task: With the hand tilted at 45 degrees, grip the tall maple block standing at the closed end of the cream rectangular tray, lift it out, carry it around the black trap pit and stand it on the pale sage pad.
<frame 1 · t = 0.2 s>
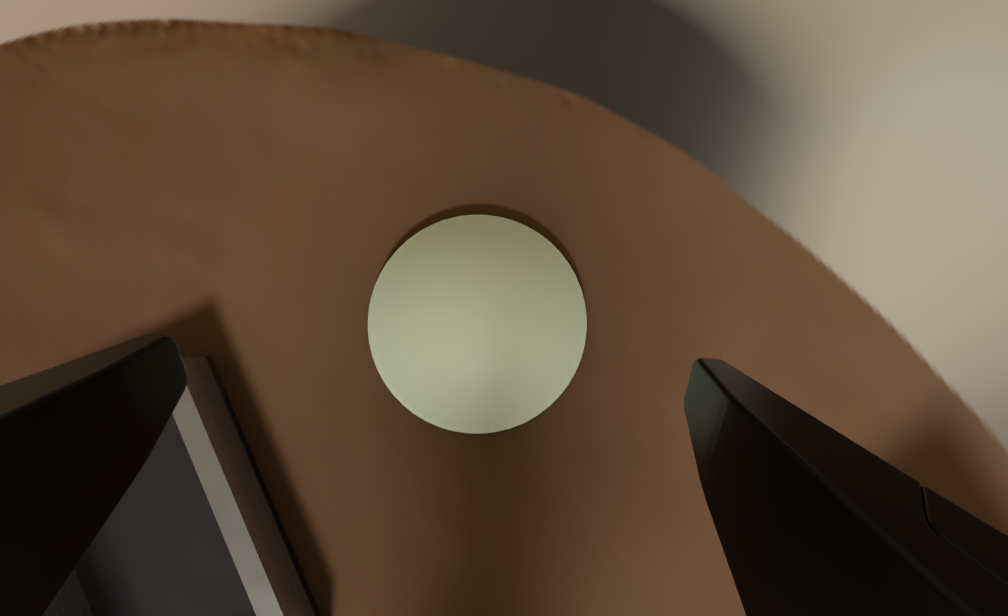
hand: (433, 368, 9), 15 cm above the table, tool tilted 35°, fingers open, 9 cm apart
trap pit: (168, 542, 23), on the table
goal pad: (477, 322, 24), on the table
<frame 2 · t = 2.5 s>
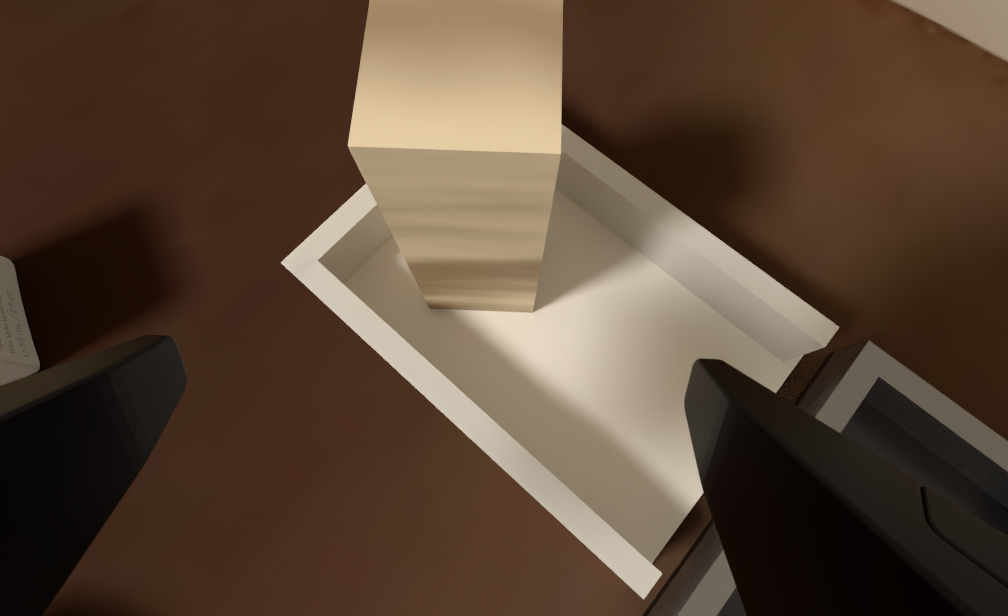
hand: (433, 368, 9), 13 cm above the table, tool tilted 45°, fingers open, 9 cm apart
cream rectangular tray: (551, 323, 23), on the table
trap pit: (847, 569, 20), on the table
maple block: (483, 262, 23), point 1 cm above the table, touching cream rectangular tray
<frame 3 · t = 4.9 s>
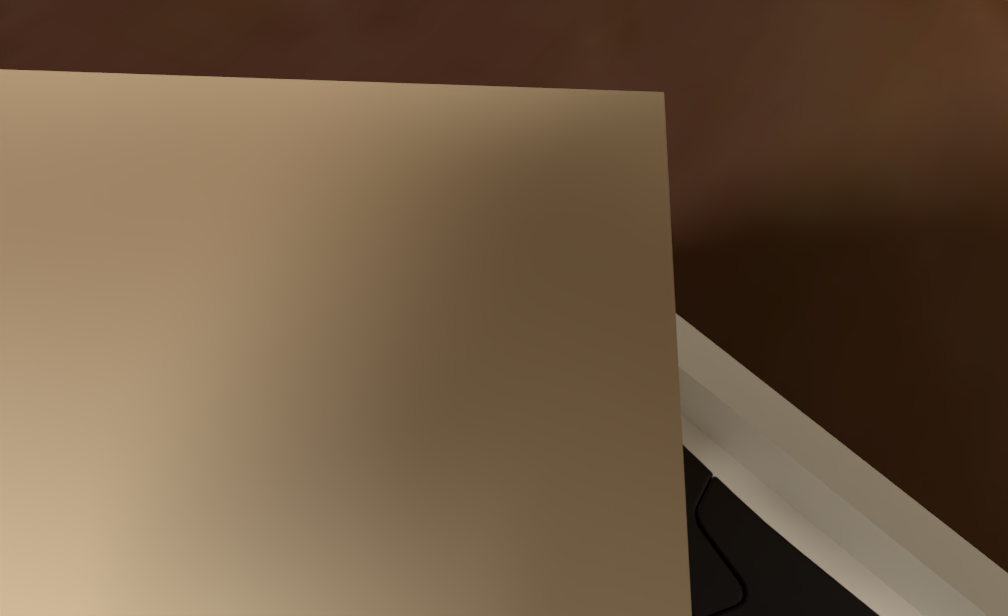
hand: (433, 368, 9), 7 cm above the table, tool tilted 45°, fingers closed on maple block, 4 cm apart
cream rectangular tray: (566, 554, 14), on the table
maple block: (458, 454, 14), point 1 cm above the table, touching gripper, cream rectangular tray
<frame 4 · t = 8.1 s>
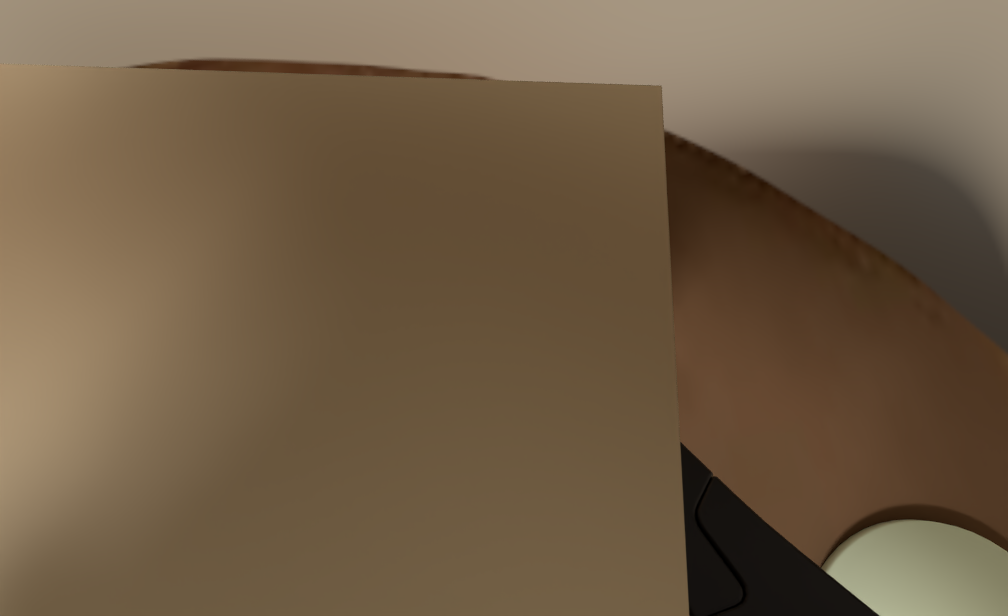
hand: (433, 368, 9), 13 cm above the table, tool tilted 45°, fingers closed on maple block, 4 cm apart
maple block: (458, 452, 14), point 7 cm above the table, touching gripper
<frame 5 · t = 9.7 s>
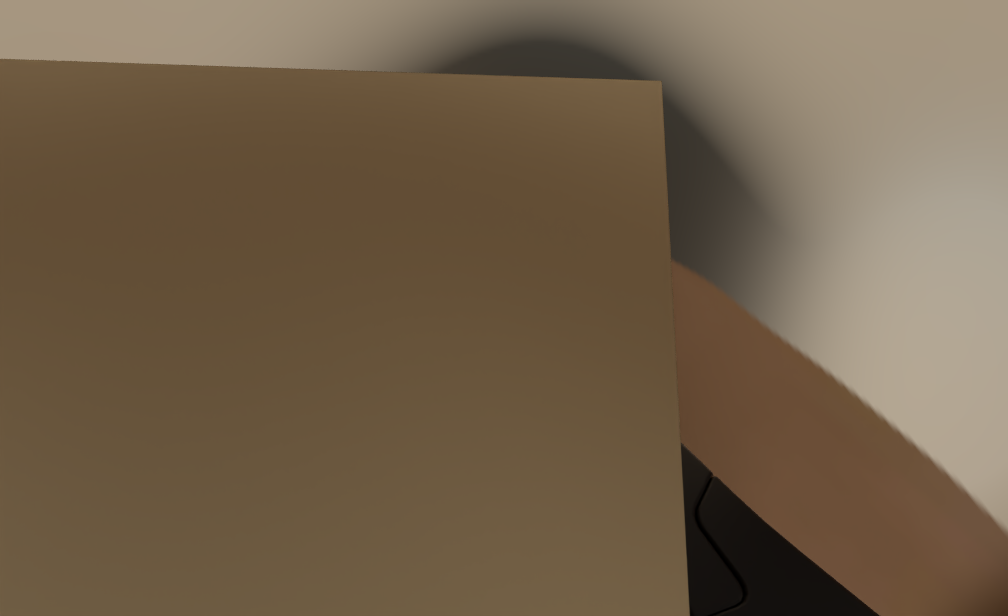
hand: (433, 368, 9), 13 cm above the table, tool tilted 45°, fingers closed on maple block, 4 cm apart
maple block: (458, 450, 14), point 7 cm above the table, touching gripper
when the fingers open (8 cm above the table, at t = 11.2 s): maple block drops 2 cm, resting on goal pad.
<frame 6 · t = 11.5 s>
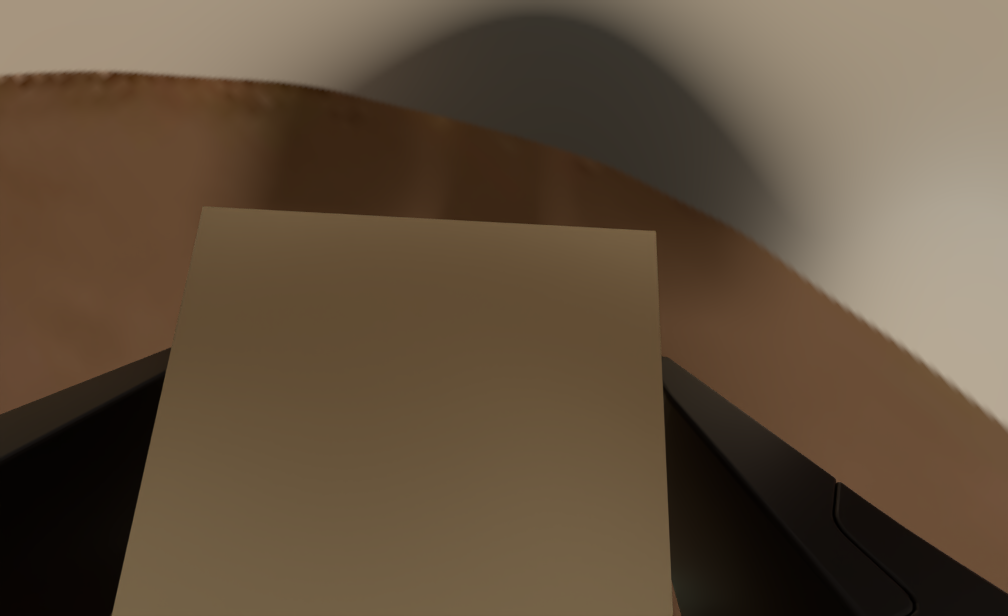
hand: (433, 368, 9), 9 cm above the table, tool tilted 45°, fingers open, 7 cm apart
maple block: (463, 452, 16), point 1 cm above the table, touching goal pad
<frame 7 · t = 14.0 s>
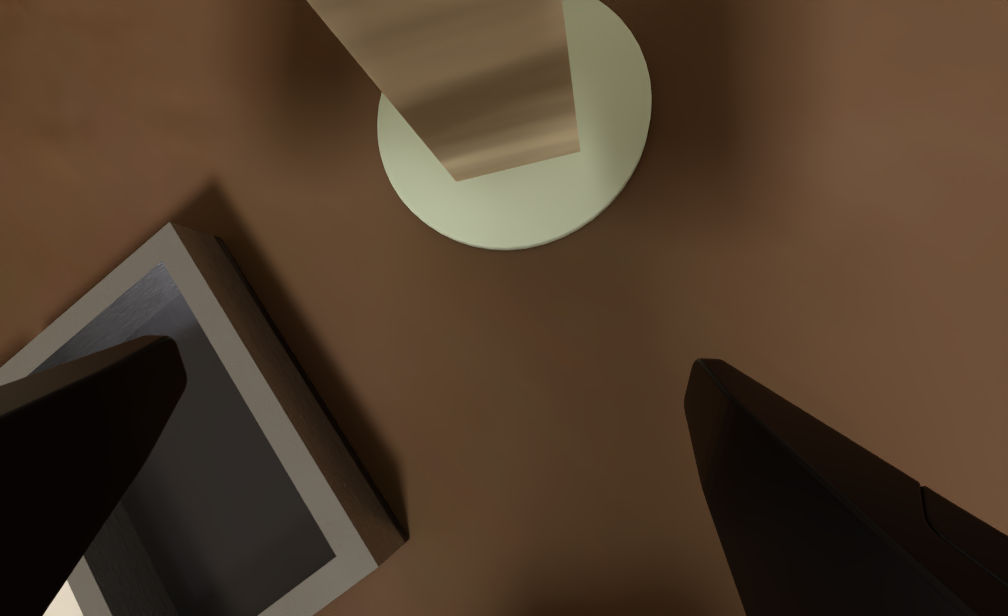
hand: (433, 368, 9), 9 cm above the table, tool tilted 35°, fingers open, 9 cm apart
trap pit: (211, 454, 20), on the table
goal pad: (510, 117, 19), on the table
maple block: (506, 108, 18), point 1 cm above the table, touching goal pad
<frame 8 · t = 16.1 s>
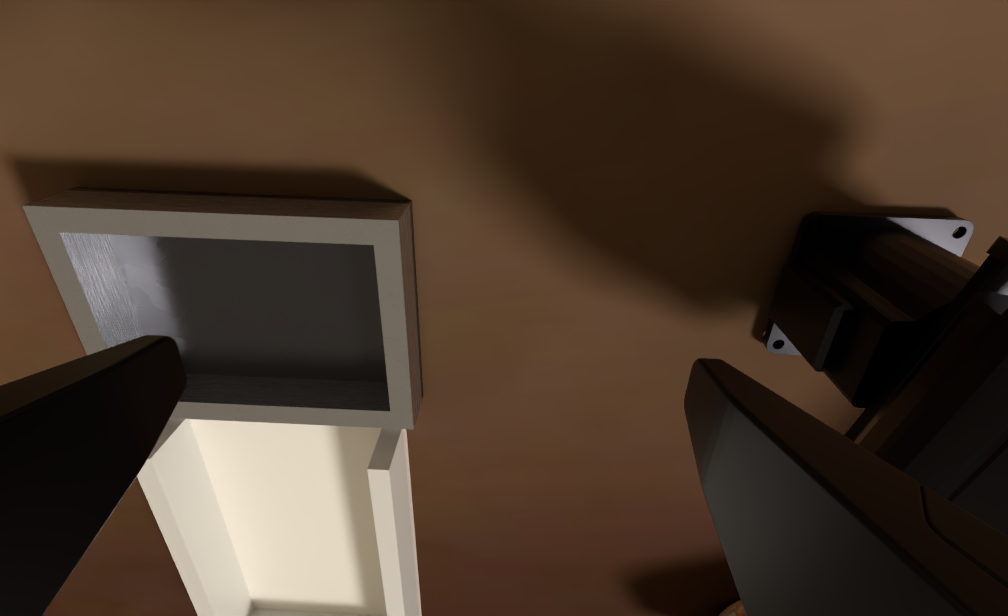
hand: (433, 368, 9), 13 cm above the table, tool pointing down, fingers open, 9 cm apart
cream rectangular tray: (314, 523, 30), on the table
trap pit: (265, 301, 23), on the table
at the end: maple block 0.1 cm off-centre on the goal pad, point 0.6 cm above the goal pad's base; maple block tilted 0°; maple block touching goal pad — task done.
